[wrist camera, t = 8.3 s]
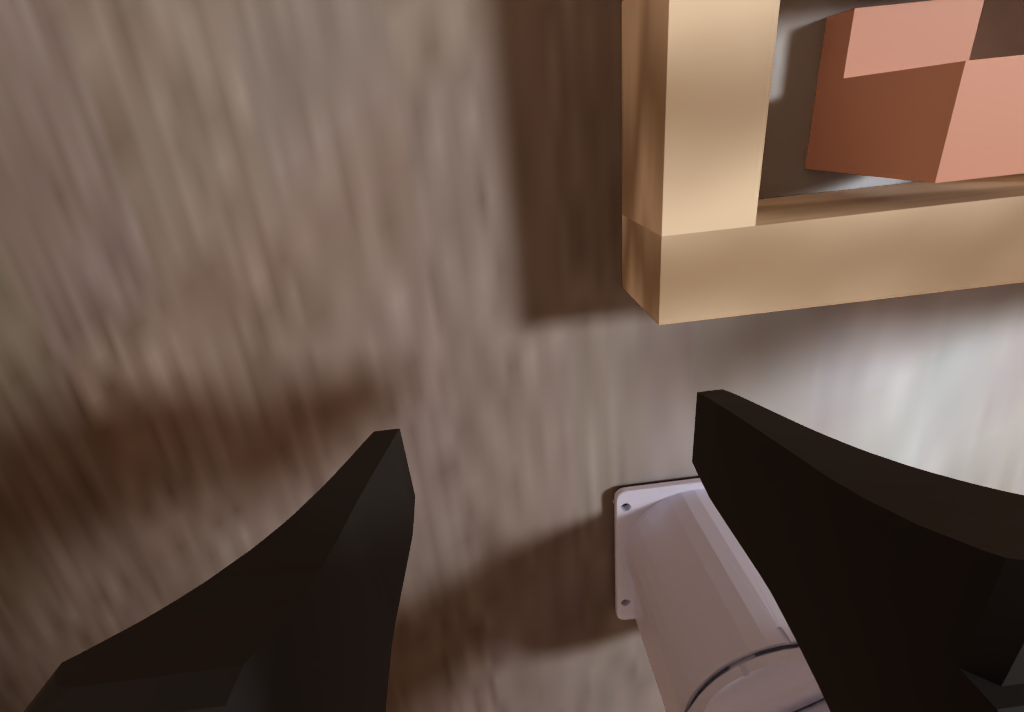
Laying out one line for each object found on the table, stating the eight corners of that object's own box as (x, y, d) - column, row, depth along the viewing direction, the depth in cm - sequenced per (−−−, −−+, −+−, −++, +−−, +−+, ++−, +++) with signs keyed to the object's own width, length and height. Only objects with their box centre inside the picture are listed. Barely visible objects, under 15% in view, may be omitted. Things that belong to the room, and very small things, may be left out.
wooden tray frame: (1055, 237, 21) (1193, 262, 17) (622, 287, 21) (658, 325, 17) (1203, -168, 16) (1456, -272, 12) (621, -114, 15) (675, -203, 11)
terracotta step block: (913, 156, 19) (1084, 166, 14) (804, 168, 19) (935, 183, 14) (947, 5, 17) (1165, -53, 12) (826, 17, 17) (989, -36, 12)
